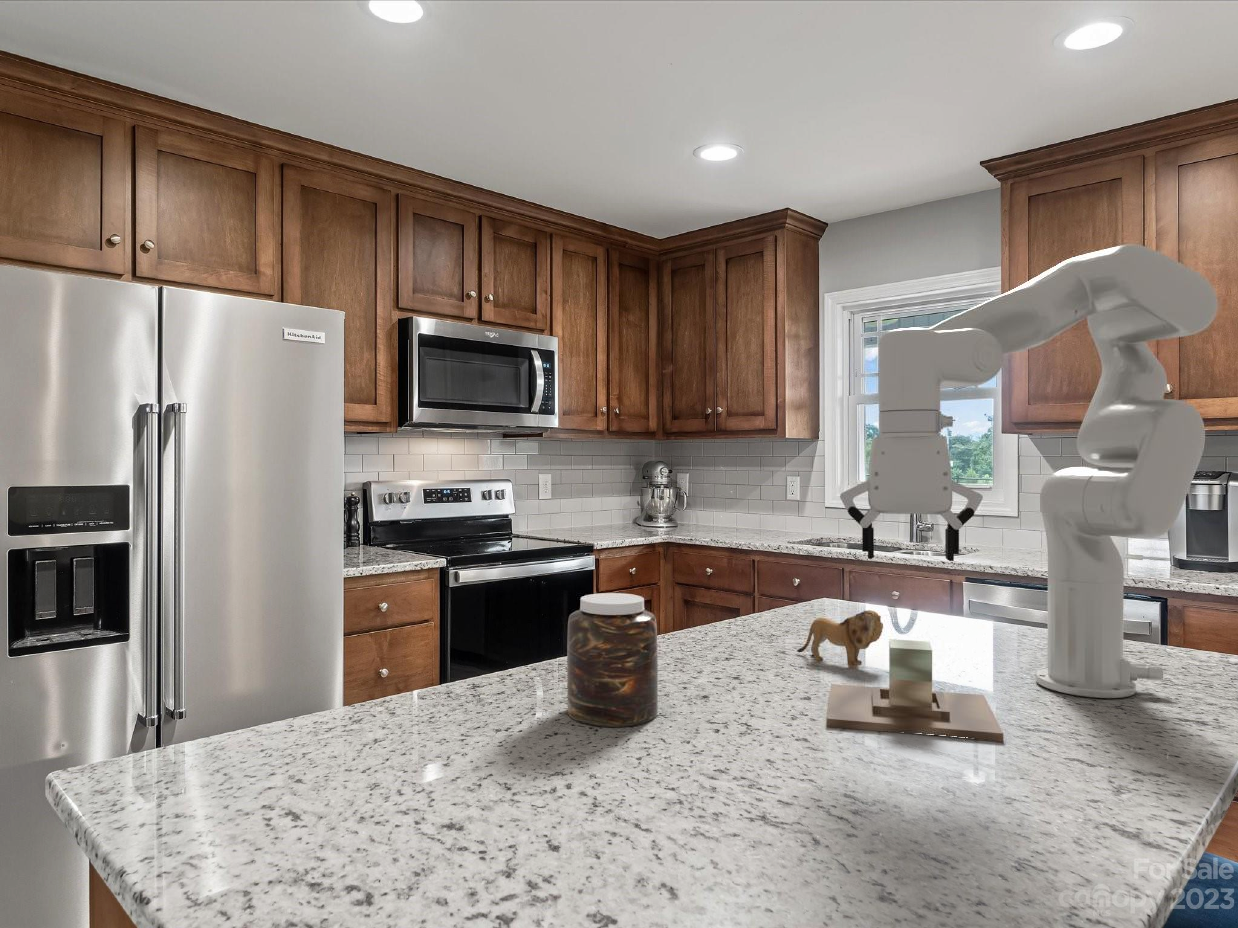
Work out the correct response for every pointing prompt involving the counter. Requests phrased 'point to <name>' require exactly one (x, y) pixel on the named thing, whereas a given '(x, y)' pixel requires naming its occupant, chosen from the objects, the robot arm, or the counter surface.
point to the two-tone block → (910, 673)
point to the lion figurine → (846, 634)
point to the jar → (612, 661)
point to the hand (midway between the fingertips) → (909, 558)
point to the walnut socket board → (912, 713)
